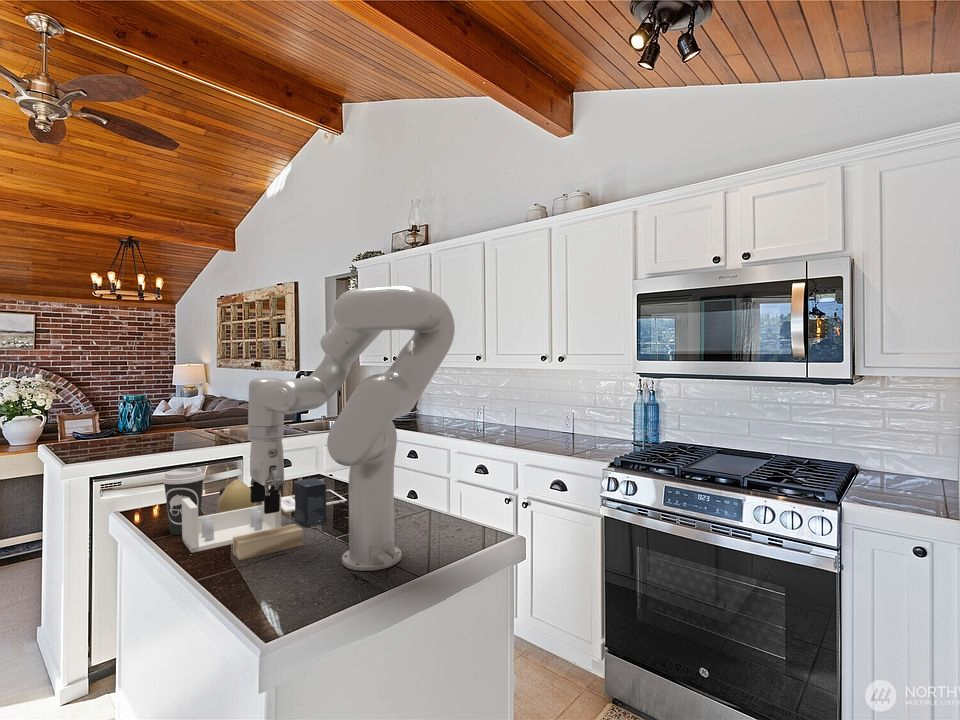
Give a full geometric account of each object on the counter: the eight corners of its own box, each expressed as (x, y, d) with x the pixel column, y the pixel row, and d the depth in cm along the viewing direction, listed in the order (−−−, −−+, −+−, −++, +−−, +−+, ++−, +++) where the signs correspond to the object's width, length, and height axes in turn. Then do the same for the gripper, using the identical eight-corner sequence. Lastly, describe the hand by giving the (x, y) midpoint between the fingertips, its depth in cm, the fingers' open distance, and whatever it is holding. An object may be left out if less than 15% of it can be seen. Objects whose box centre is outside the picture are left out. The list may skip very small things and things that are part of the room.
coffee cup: (214, 527, 135) (213, 469, 135) (176, 539, 127) (175, 477, 127) (192, 521, 140) (191, 465, 140) (154, 532, 132) (153, 472, 132)
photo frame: (271, 498, 160) (330, 488, 171) (271, 501, 160) (330, 492, 171) (285, 509, 148) (347, 499, 159) (285, 513, 148) (347, 502, 159)
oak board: (303, 546, 123) (302, 529, 123) (239, 561, 114) (239, 543, 114) (295, 540, 127) (295, 523, 127) (232, 555, 118) (232, 537, 118)
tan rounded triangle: (252, 509, 151) (252, 472, 151) (260, 520, 141) (260, 480, 141) (214, 515, 146) (213, 477, 146) (219, 527, 136) (219, 486, 136)
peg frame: (281, 532, 131) (280, 492, 131) (191, 552, 119) (190, 508, 118) (268, 522, 139) (267, 485, 139) (182, 540, 126) (181, 499, 126)
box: (326, 522, 139) (326, 482, 139) (305, 527, 135) (305, 486, 135) (315, 515, 145) (314, 477, 145) (294, 520, 141) (294, 480, 141)
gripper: (296, 436, 116) (294, 514, 116) (270, 426, 129) (269, 495, 130) (261, 439, 111) (259, 520, 112) (237, 428, 124) (236, 500, 125)
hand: (264, 507), depth 121 cm, fingers open, 9 cm apart
